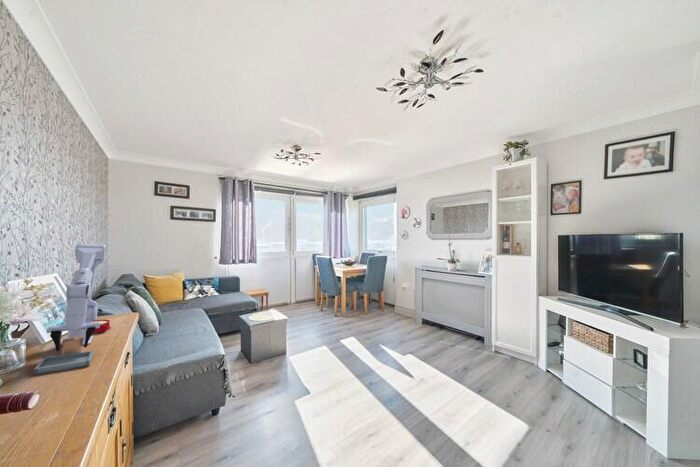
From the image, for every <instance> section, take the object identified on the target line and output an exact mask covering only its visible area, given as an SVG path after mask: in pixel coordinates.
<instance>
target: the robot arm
mask: <svg viewBox="0 0 700 467" xmlns="http://www.w3.org/2000/svg"><path fill="white" fill-rule="evenodd" d="M106 252H107V246H106V245H105V244H93V243H81V242H79V243H77V244H76V245H75V249H74V256H75V260H76V263H78V264H79V269H77V270H75V271H74V272H73V276H72V279H71V282H70V285H67V288H66V292H65V298H66V300H65V302H66V310H65V313H64V318H63V319H64V324H60V325H59V324H58V325H53V326H48V327H47V329H46V334H49V337H50V339H51V340H52V342H53V343H54V345H55V346H54V347H55V351H56V352H59V351H60V350H61V345H62V344H61V339H62V335H63V332H67V337H66V338H69V337H74V336H82V337H83V343H82V346H83V348H84V349H85V348H87V347H88V345H90V344H91V342H92V340H93V338H94V336H93V334H94V333H93V332H94V331H95V329H96V328H99V326H100V322H95V323H92V321H94V320H97V318H98V310H99V304H98V302H97V301H95V300H93V299H92V295H93V289H94V281H95V277H96V270H97V268H98V266H99V265H100V264H103V263H104V261H105V258H106Z"/></svg>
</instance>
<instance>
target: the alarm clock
mask: <svg viewBox="0 0 700 467" xmlns="http://www.w3.org/2000/svg"><path fill="white" fill-rule="evenodd" d="M95 322H100V326H99V328H96V329H95V331H94V332H93V334H104V333H106V331H109V330H111V329H112V328H111V325H110V322H111V320H110V319H95V320H94V321H92V323H95Z"/></svg>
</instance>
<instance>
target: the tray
mask: <svg viewBox="0 0 700 467" xmlns="http://www.w3.org/2000/svg"><path fill="white" fill-rule="evenodd" d="M94 354H95V350H90V351H89V350H88V351H82V352H79V353H72V354H65V355H61V354H58V355H51V356H44V357H42V359H41V360H40V361H39V362H38V364H37V365H36V366H35V367H34V369H33V374H32V375H33V376H38V375H44V374H51V373H55V372H60V371H61V372H62V371H68V370H73V369H74V370H76V369H80V368H87V367H90V365H91V362H92V360H93V357H94Z"/></svg>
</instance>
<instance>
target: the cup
mask: <svg viewBox="0 0 700 467" xmlns="http://www.w3.org/2000/svg"><path fill="white" fill-rule="evenodd" d="M82 343H83V337H82V336H74V337H69V338H67V337H65V338H63V339H62V344H61V354H60V355H65V354H72V353H79V352H83V351H82V349H83V345H82Z"/></svg>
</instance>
